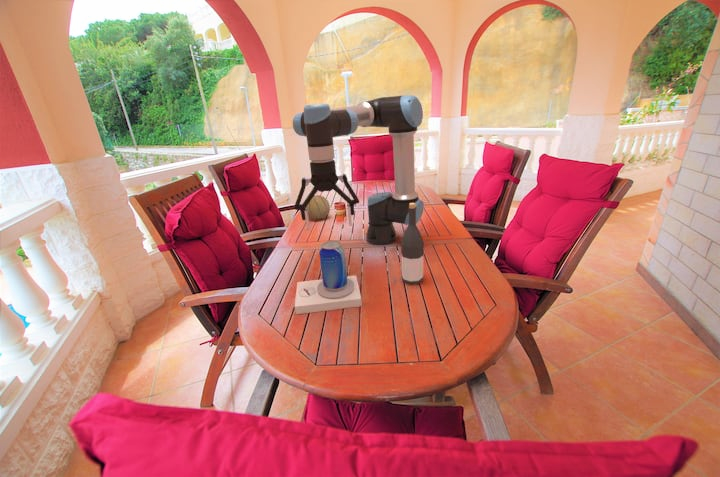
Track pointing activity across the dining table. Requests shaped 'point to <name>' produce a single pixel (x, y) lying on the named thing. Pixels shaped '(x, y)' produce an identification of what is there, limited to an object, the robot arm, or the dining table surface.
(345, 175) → the robot arm
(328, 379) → the dining table surface
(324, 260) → the beer can
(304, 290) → the scale
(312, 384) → the dining table surface
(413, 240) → the wine bottle
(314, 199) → the cantaloupe
